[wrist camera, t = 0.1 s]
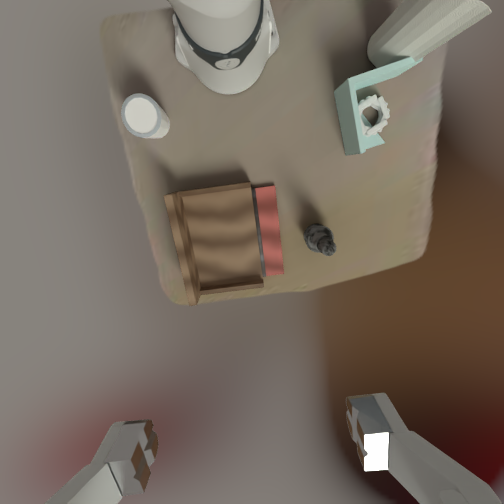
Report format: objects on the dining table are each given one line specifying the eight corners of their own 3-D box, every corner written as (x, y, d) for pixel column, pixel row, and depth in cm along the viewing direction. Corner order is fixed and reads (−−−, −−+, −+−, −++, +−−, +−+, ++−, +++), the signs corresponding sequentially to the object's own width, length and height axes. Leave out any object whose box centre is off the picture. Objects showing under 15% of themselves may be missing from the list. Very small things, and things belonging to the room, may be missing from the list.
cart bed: (175, 191, 55) (163, 195, 47) (273, 178, 54) (277, 179, 46) (197, 288, 62) (189, 305, 54) (284, 278, 61) (288, 293, 53)
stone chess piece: (299, 245, 58) (312, 264, 47) (305, 220, 57) (319, 233, 45) (325, 249, 59) (343, 269, 47) (331, 224, 57) (352, 238, 46)
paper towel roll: (371, 25, 46) (468, -89, 26) (404, 31, 46) (524, -77, 26) (360, 71, 48) (440, 0, 28) (391, 77, 48) (493, 11, 28)
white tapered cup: (137, 101, 49) (119, 90, 43) (173, 105, 50) (161, 95, 43) (138, 139, 51) (121, 135, 45) (172, 143, 52) (161, 139, 45)
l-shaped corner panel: (345, 155, 53) (360, 153, 45) (333, 91, 49) (348, 78, 42) (404, 136, 52) (429, 131, 44) (396, 69, 48) (422, 52, 41)
